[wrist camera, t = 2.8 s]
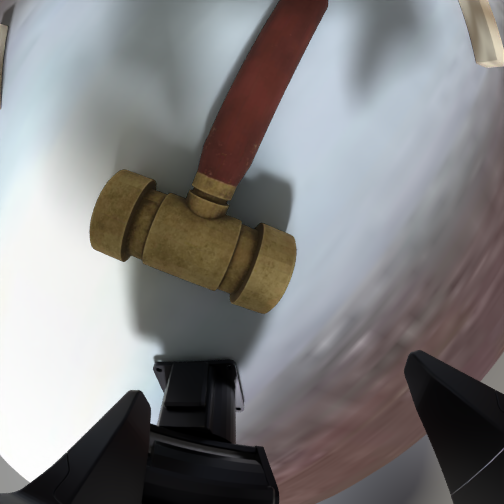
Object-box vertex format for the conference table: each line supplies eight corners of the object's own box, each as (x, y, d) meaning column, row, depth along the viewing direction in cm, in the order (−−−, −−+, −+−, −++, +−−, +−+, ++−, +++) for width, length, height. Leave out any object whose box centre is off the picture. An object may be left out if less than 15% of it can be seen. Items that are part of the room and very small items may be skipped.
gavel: (250, -75, 6) (411, -2, 8) (245, -36, 11) (378, 22, 13) (80, 260, 12) (265, 331, 14) (113, 235, 16) (257, 291, 18)
